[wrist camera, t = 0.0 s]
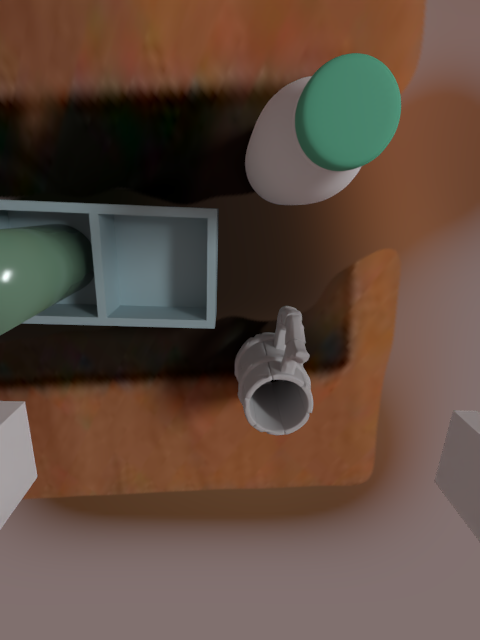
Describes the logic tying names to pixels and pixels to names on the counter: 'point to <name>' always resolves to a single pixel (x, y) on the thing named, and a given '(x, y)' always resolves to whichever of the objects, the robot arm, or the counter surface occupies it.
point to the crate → (134, 263)
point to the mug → (275, 377)
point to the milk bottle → (323, 130)
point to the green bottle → (40, 269)
